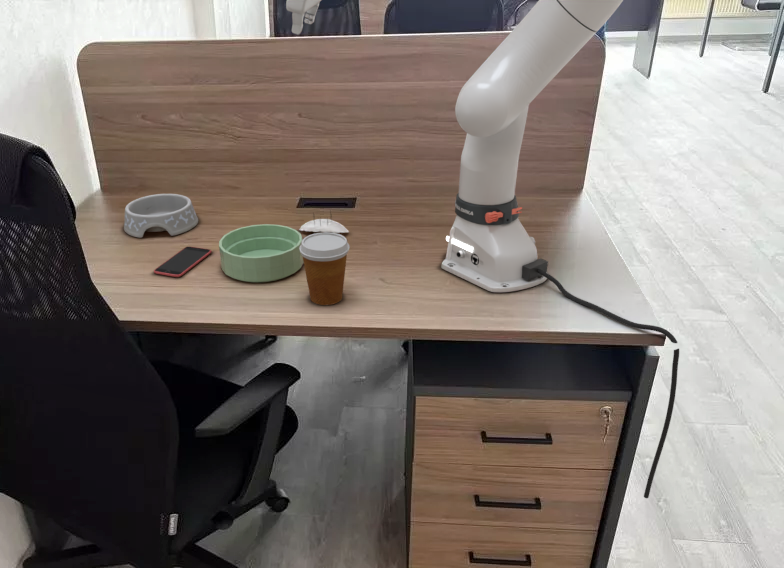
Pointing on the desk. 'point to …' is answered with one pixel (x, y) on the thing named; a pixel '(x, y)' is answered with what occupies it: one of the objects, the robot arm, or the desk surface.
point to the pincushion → (323, 226)
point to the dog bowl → (160, 215)
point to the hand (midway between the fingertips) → (302, 28)
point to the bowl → (261, 253)
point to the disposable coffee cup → (325, 266)
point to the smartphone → (182, 261)
